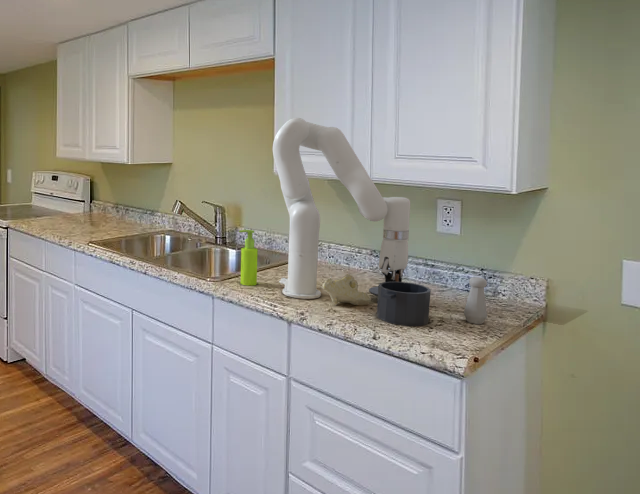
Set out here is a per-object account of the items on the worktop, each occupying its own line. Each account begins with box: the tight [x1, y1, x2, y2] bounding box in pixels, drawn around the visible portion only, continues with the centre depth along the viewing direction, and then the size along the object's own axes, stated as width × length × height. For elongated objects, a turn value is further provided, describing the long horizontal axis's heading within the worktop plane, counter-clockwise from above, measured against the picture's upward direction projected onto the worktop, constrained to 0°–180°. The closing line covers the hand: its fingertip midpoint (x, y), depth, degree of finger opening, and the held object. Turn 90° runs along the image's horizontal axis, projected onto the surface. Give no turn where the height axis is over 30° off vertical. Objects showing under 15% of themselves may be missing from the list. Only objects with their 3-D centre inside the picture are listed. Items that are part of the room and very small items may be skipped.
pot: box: [376, 281, 432, 327], centre depth 162 cm, size 14×19×10 cm
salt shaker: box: [463, 276, 488, 325], centre depth 159 cm, size 6×6×13 cm
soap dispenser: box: [238, 229, 259, 287], centre depth 202 cm, size 6×7×20 cm
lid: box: [368, 272, 399, 297], centre depth 181 cm, size 15×15×7 cm
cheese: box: [321, 273, 372, 306], centre depth 177 cm, size 15×7×15 cm
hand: (393, 289), depth 181 cm, fingers closed on lid, 3 cm apart
